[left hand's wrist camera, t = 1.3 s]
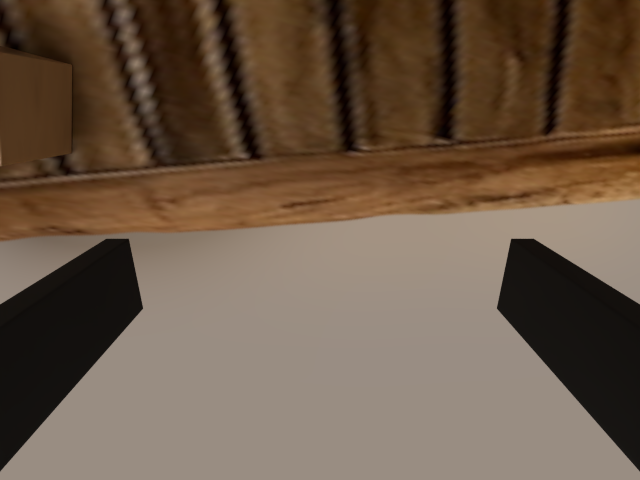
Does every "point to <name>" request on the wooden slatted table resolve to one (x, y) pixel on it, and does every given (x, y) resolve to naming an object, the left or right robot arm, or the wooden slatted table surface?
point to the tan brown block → (34, 107)
